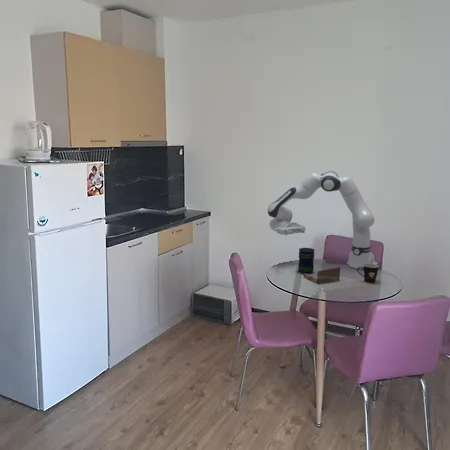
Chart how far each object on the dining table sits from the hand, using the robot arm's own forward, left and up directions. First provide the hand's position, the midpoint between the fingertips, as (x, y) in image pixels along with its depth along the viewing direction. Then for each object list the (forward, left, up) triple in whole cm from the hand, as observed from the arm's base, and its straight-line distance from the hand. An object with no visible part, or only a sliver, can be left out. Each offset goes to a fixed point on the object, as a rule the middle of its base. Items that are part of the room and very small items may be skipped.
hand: (298, 232), depth 293 cm
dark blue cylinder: (+3, +9, -24) cm, 26 cm away
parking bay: (+8, +23, -24) cm, 35 cm away
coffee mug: (-8, +46, -24) cm, 53 cm away
